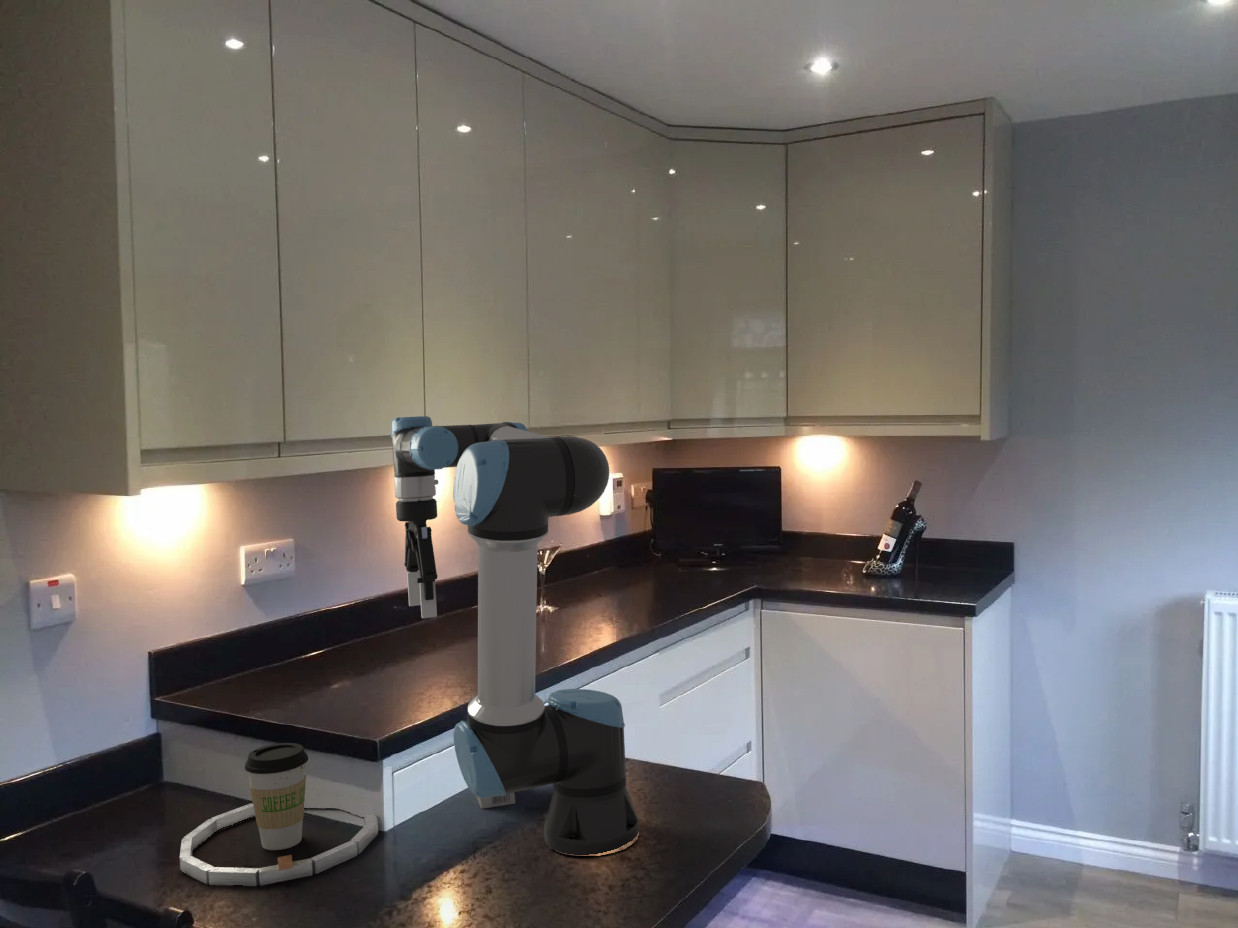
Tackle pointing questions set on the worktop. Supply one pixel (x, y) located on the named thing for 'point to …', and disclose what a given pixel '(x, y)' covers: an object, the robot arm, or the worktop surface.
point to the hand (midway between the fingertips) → (422, 611)
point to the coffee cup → (278, 793)
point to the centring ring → (271, 873)
